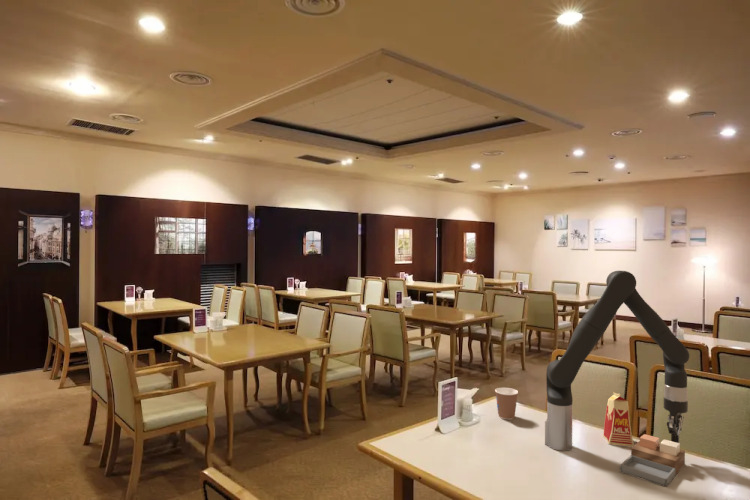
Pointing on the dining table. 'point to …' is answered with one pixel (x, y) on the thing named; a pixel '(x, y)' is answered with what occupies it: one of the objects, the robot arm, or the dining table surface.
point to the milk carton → (617, 422)
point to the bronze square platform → (659, 456)
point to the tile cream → (669, 447)
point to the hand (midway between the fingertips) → (675, 444)
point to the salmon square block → (649, 442)
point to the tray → (648, 470)
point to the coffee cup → (506, 402)
